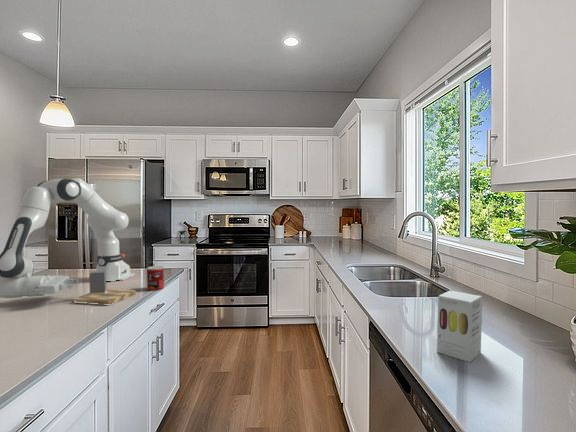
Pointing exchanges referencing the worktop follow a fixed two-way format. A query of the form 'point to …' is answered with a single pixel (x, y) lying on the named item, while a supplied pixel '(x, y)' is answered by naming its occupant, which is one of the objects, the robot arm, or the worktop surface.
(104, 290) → the block
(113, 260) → the robot arm
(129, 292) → the oak board
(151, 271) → the canned food
